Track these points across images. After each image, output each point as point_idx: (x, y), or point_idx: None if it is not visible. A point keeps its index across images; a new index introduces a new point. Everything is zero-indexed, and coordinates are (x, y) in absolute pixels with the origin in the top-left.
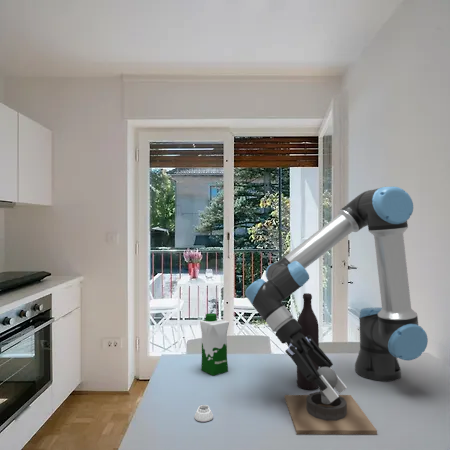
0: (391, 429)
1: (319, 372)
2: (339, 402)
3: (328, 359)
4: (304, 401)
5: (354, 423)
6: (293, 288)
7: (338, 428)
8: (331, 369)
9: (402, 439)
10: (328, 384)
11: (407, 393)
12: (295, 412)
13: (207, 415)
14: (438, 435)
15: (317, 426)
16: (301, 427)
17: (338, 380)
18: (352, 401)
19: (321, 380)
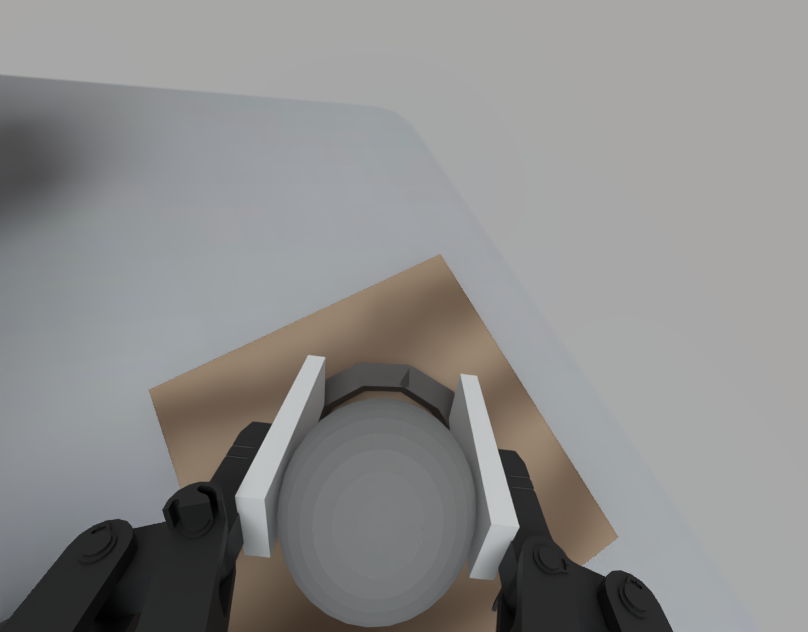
0: (379, 224)
1: (448, 572)
2: (328, 407)
3: (71, 580)
4: (324, 613)
5: (431, 328)
6: None
7: (501, 376)
8: (370, 454)
9: (426, 196)
10: (491, 442)
11: (33, 183)
12: (471, 612)
13: None
14: (352, 117)
15: (535, 459)
16: (585, 524)
17: (307, 406)
18: (227, 368)
19: (515, 507)
